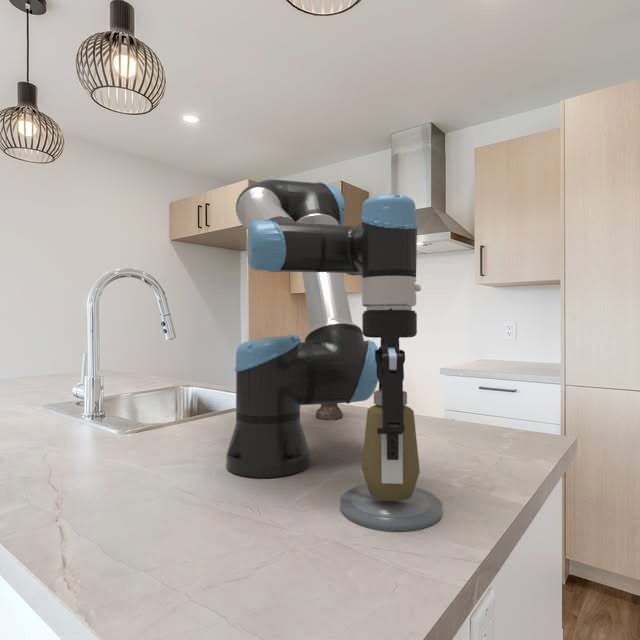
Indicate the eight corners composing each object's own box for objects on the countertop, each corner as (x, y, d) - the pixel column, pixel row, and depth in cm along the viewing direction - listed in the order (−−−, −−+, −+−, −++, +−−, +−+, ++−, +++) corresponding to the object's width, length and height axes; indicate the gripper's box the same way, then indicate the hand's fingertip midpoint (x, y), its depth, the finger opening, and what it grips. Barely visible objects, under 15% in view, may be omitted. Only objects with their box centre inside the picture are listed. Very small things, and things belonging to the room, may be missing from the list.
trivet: (337, 529, 58) (337, 520, 58) (342, 488, 72) (342, 481, 72) (451, 533, 57) (451, 524, 57) (433, 491, 71) (433, 484, 71)
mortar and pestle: (298, 415, 126) (298, 343, 126) (319, 411, 132) (318, 341, 132) (331, 422, 118) (330, 344, 118) (351, 416, 125) (350, 343, 125)
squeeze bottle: (358, 484, 68) (358, 363, 68) (412, 483, 68) (412, 363, 68) (365, 506, 60) (365, 369, 60) (427, 505, 60) (426, 369, 60)
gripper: (427, 307, 53) (428, 501, 54) (408, 310, 74) (409, 450, 74) (362, 307, 54) (363, 500, 54) (362, 310, 75) (362, 449, 75)
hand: (390, 471), depth 64 cm, fingers closed on squeeze bottle, 8 cm apart
